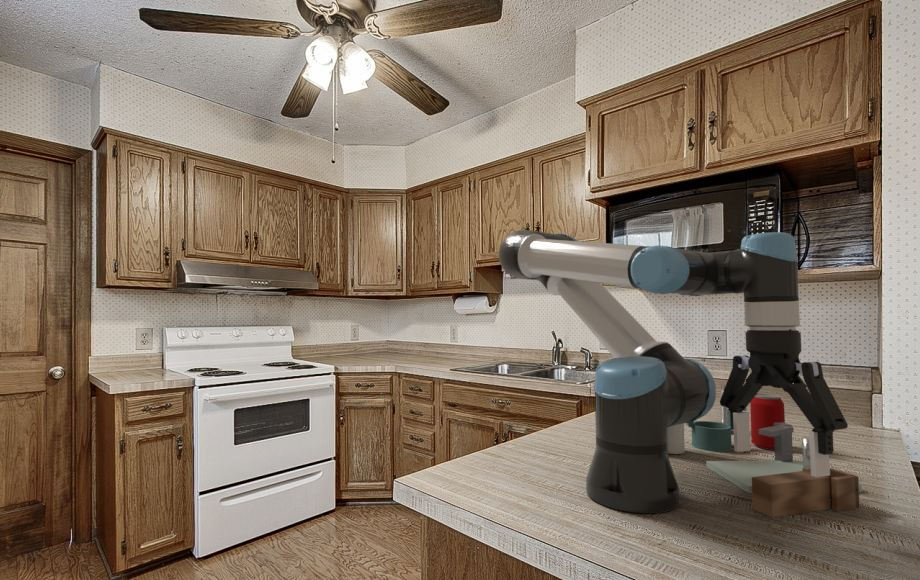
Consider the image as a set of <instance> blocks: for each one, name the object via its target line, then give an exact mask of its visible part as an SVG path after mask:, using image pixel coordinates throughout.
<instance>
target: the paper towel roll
mask: <svg viewBox="0 0 920 580" xmlns="http://www.w3.org/2000/svg"><path fill="white" fill-rule="evenodd" d="M685 446H686V445H685V423H683V424H678V425H674V426H670V427H667V454H669V455H681V454H683V453H685Z"/></svg>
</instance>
